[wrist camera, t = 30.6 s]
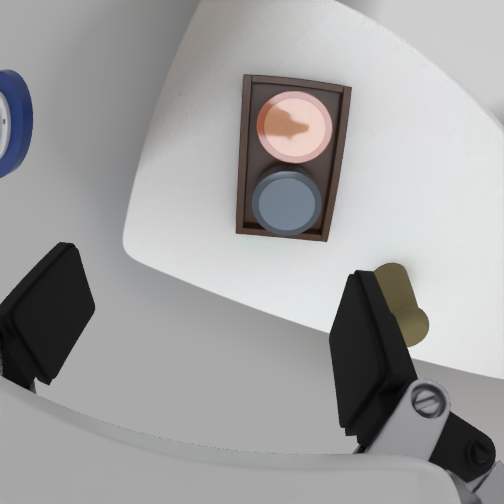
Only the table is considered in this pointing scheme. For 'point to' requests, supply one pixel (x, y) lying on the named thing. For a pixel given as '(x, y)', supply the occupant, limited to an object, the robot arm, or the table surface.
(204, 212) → the table surface
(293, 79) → the tray
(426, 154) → the table surface
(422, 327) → the pepper shaker
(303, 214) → the slate dish
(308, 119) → the terracotta dish
